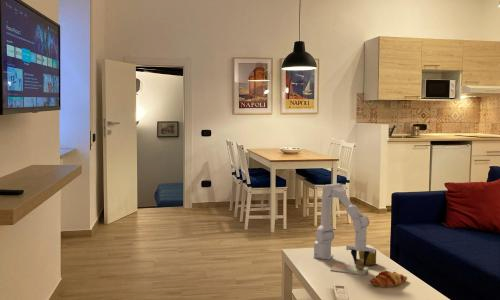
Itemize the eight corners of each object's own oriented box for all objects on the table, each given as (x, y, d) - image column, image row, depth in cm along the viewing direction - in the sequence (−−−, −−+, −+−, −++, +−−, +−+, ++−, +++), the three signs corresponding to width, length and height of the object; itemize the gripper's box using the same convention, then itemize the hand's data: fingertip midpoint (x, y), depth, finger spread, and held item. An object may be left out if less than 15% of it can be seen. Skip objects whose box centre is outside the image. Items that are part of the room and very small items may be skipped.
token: (356, 266, 247) (356, 258, 247) (364, 267, 246) (364, 259, 245) (355, 268, 243) (355, 261, 243) (363, 269, 242) (363, 262, 242)
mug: (381, 263, 250) (375, 245, 252) (363, 269, 251) (357, 251, 252) (377, 260, 263) (371, 243, 264) (360, 265, 263) (354, 248, 264)
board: (330, 270, 245) (330, 269, 245) (334, 264, 255) (334, 262, 255) (365, 275, 238) (365, 273, 238) (368, 268, 249) (368, 267, 248)
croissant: (402, 285, 234) (398, 269, 237) (415, 283, 225) (410, 266, 228) (366, 291, 226) (363, 274, 229) (378, 288, 218) (374, 271, 221)
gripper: (345, 239, 242) (344, 265, 244) (373, 242, 237) (373, 268, 238) (347, 236, 249) (347, 261, 250) (375, 239, 243) (375, 264, 245)
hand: (360, 264), depth 245 cm, fingers closed on token, 4 cm apart
